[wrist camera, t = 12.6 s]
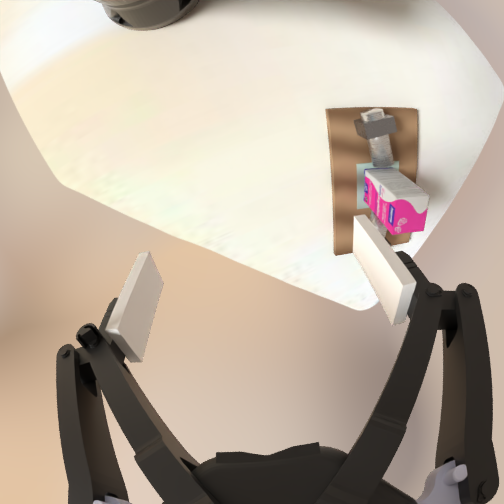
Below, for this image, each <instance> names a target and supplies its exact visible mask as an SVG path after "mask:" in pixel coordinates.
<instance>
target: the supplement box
mask: <svg viewBox="0 0 504 504" xmlns="http://www.w3.org/2000/svg"><path fill="white" fill-rule="evenodd" d="M429 196H430V195H429V194H428V193H426V192H425V191H424V190H423V189H421V188H420V187H419V186H417V185H416V184H415V183H414V182H412V181H411V180H410V179H408V178H407V177H406V176H404V175H403V174H402V173H400V172H399V171H397V170H396V169H395V168H393V167H392V168H391V167H390V168H371V169H364V199H363V200H364V202H365V203H366V204H367V205H368V206H369V207H370V208H371V210H372V211H373V212H374V213H375V214H376V216H377V217H378V218H379V219H380V220H381V222H382V223H383V224H384V225H385V227H386V228H387V229H388V230H389V232H390V233H391V234H392V235H396V234H403V233H409V232H418V231H424V226H425V221H426V215H427V209H428V203H429Z"/></svg>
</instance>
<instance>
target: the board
mask: <svg viewBox="0 0 504 504" xmlns="http://www.w3.org/2000/svg"><path fill="white" fill-rule="evenodd" d="M375 108H380V109H383V112H384V114H387V115H391V116H394V119H395V123H396V128H397V132H395V133H391V134H389V138H390V143H391V148H392V154H393V159H394V164H393V165H392V166H390V167H391V168H392V167H393V168H395V169H396V170H397V171H399V172H400V173H402V174H403V175H404V176H406V177H407V178H408V179H410V180H411V181H412V182H414V183H415V184H416V170H417V109H414V108H398V107H354V108H332V109H326V118H327V127H328V138H329V149H330V162H331V177H332V196H333V229H334V254H335V256H337V255H343V254H348V253H353V233H354V216H358V215H364V214H365V215H366V216H367V218H368V219H370V215H371V211H372V210H371V208H370V207H369V206H368V205H367V204H366V203H365V202H364V200H363V199H364V169H371V168H376V167H374V166H373V165H372V160H371V156H370V151H369V147H368V143H367V139H365V138H363V137H361V136H359V135H357V132H356V128H355V124H354V121H353V120H357V119H360V118H361V116H360V112H361V111H364V110H368V109H375ZM390 167H387V168H390ZM385 237H386V238H387V240H388V241H389V242H390V243H391V246H392V245H397V244H402V243H407V242H409V237H410V232H409V233H403V234H396V235H392V234H391V233H390V232H389V230H388V229H387V233H386V236H385Z"/></svg>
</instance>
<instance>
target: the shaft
mask: <svg viewBox="0 0 504 504" xmlns="http://www.w3.org/2000/svg"><path fill="white" fill-rule="evenodd" d="M369 220H370V221H371V222H372V224H373V225H374V226H375V227H376V229H377V230H378V231H379V232H380V234H381V235H382V236H383V237H384V239H385V240H386V241H387V242H388V244H389V245H390V246H391V243H390V242H389V241H388V240H387V238H386V237H385V236H386V233H387V228H386V227H385V225H384V224H383V223H382V222H381V220H380V219H379V218H378V217H377V216H376V214H375V213H374V212H373V211H371V215H370V219H369Z"/></svg>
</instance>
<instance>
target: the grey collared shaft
mask: <svg viewBox="0 0 504 504" xmlns="http://www.w3.org/2000/svg"><path fill="white" fill-rule="evenodd" d="M360 116H361V118H360V119H357V120H353V121H354V124H355V128H356V132H357V135H359V136H361V137H363V138H365V139H367V143H368V147H369V151H370V156H371V160H372V165H373V166H374V167H376V168H387V167H390V166H392V165H393V164H394V159H393V154H392V148H391V143H390V138H389V134H391V133H395V132H397V128H396V123H395V119H394V116H391V115H387V114H384V112H383V109H380V108H375V109H368V110H364V111H361V112H360Z"/></svg>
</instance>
